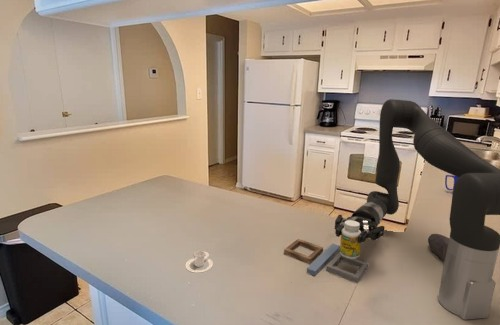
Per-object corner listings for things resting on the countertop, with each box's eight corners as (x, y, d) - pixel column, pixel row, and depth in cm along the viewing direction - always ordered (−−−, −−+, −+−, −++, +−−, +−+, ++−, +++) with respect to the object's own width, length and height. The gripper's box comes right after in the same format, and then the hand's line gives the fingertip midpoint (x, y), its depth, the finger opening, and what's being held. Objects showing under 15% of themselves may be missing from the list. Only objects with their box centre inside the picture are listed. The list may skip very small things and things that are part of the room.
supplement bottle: (361, 252, 86) (364, 221, 84) (357, 261, 82) (360, 229, 80) (342, 247, 89) (344, 217, 87) (337, 256, 84) (340, 224, 82)
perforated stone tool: (420, 245, 101) (424, 226, 99) (435, 245, 101) (439, 226, 100) (452, 272, 86) (457, 250, 85) (470, 272, 87) (475, 250, 85)
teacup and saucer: (202, 254, 94) (202, 242, 93) (220, 264, 89) (220, 251, 88) (179, 266, 88) (179, 254, 87) (197, 277, 83) (197, 264, 82)
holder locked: (322, 251, 96) (323, 247, 96) (309, 264, 89) (310, 259, 89) (298, 242, 101) (298, 238, 101) (283, 253, 95) (284, 249, 94)
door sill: (332, 247, 99) (332, 243, 98) (339, 250, 97) (340, 245, 97) (306, 272, 85) (307, 268, 85) (314, 276, 83) (315, 271, 83)
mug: (443, 189, 159) (446, 171, 156) (471, 194, 152) (475, 175, 149) (442, 194, 152) (445, 175, 150) (471, 199, 145) (475, 179, 143)
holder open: (368, 268, 88) (368, 263, 87) (357, 283, 81) (358, 278, 80) (338, 257, 93) (338, 253, 93) (326, 270, 86) (326, 265, 86)
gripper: (346, 200, 98) (324, 217, 85) (393, 211, 90) (376, 231, 77) (344, 221, 100) (322, 241, 87) (390, 234, 91) (373, 257, 78)
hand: (348, 236), depth 82 cm, fingers closed on supplement bottle, 5 cm apart
